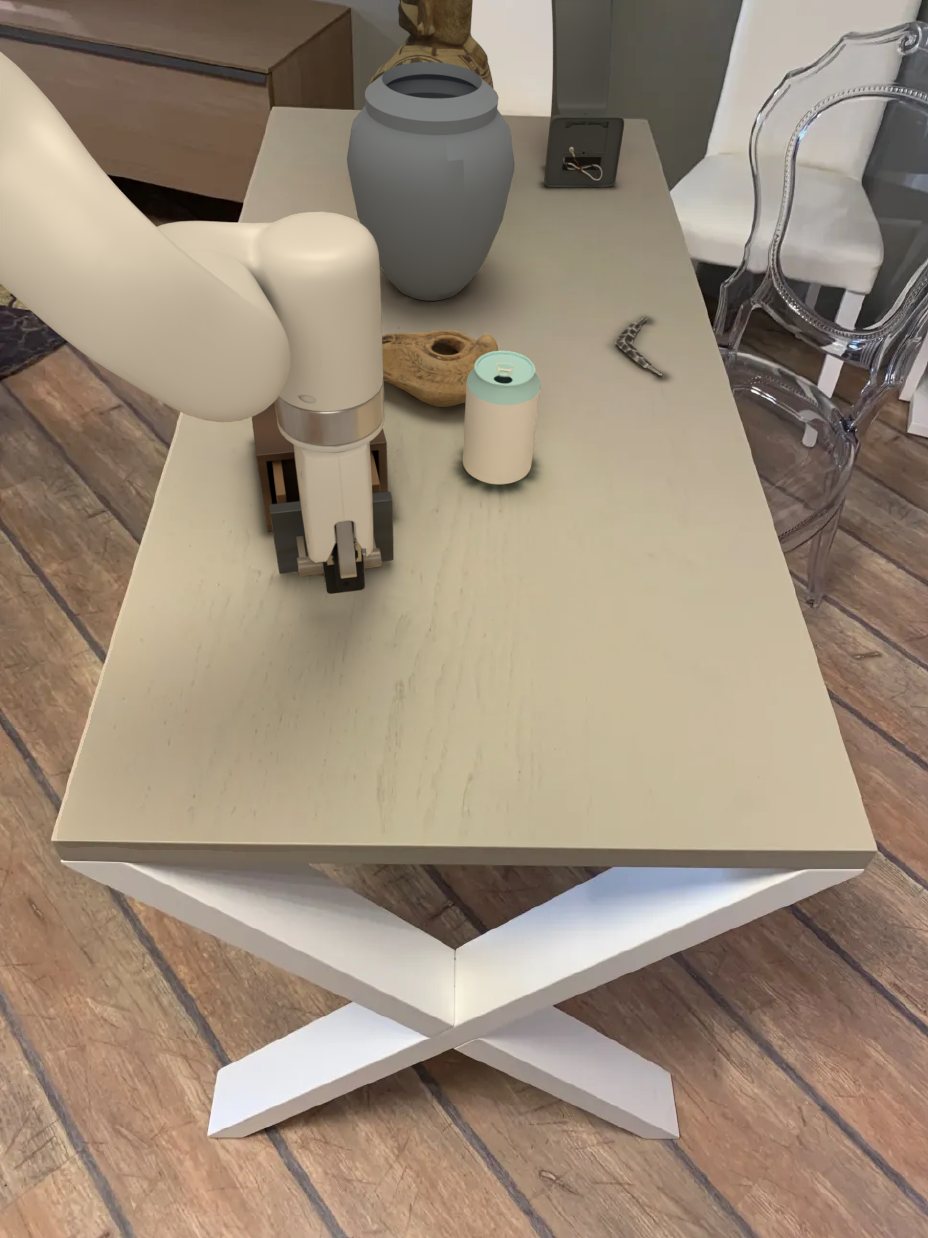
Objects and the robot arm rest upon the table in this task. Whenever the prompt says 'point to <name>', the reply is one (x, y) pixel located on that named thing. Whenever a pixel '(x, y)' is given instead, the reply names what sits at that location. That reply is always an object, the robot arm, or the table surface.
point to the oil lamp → (433, 363)
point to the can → (500, 417)
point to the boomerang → (627, 346)
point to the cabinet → (279, 448)
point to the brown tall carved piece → (438, 37)
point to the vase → (430, 174)
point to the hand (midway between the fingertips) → (345, 585)
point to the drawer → (291, 524)
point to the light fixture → (582, 98)
